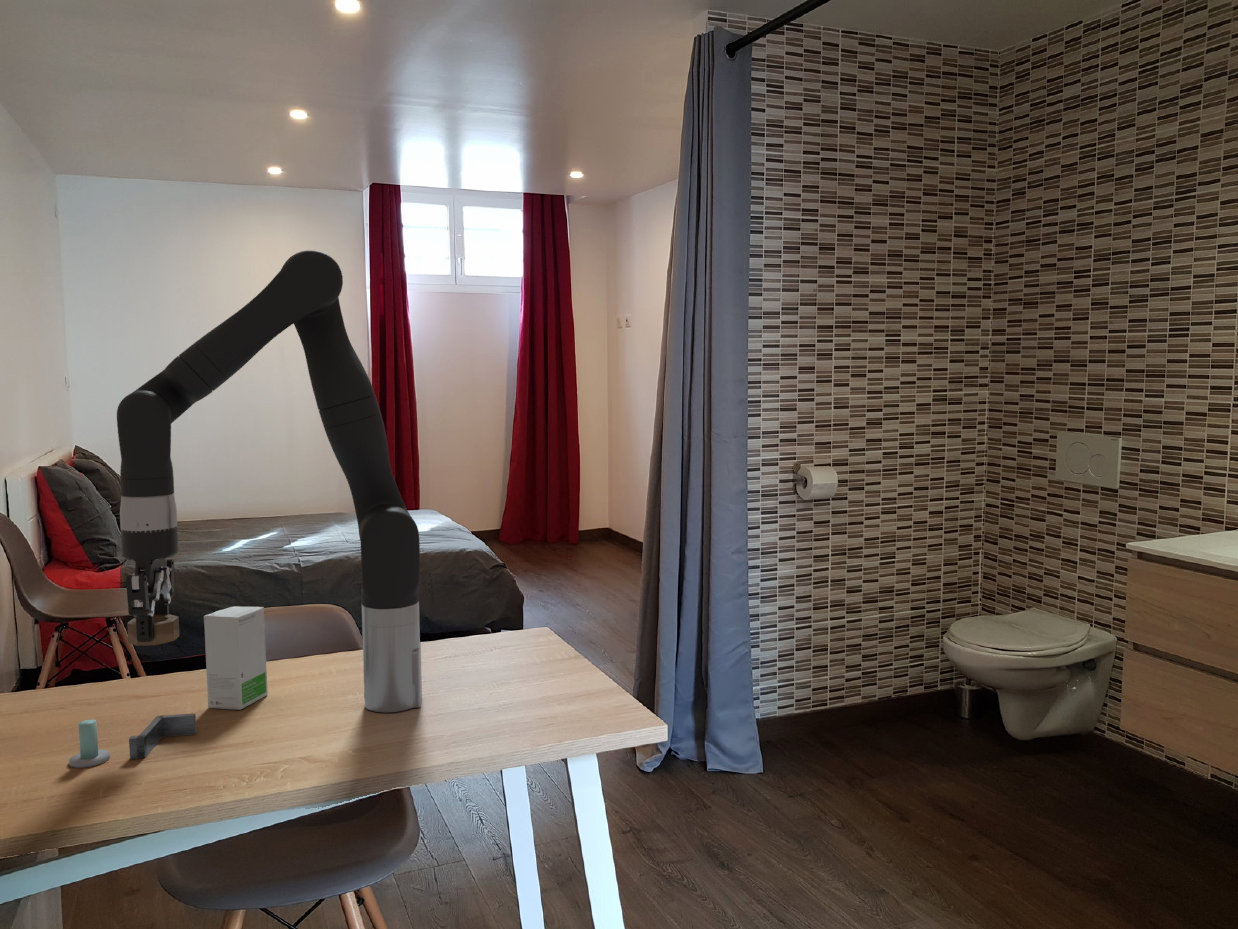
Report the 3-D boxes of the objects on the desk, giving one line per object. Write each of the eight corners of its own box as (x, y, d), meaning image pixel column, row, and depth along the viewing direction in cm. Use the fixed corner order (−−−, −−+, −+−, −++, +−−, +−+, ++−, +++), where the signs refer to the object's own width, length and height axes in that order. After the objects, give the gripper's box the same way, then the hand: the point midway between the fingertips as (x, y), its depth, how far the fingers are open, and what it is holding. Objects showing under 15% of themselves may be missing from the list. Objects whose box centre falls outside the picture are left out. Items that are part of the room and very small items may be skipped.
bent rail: (196, 732, 140) (195, 713, 140) (178, 755, 131) (177, 735, 131) (150, 735, 139) (150, 716, 139) (130, 759, 130) (128, 738, 130)
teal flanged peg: (115, 752, 133) (113, 715, 132) (101, 766, 128) (99, 727, 127) (77, 754, 132) (75, 717, 131) (63, 769, 127) (60, 730, 126)
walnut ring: (183, 632, 141) (182, 613, 141) (170, 644, 135) (169, 624, 134) (138, 634, 140) (137, 615, 139) (123, 646, 133) (122, 626, 133)
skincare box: (240, 711, 149) (236, 618, 148) (204, 708, 151) (200, 616, 149) (269, 694, 157) (266, 605, 156) (235, 691, 159) (231, 604, 157)
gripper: (160, 532, 129) (165, 647, 131) (190, 517, 143) (194, 621, 145) (103, 533, 128) (108, 649, 129) (138, 518, 142) (143, 623, 144)
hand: (153, 634), depth 137 cm, fingers closed on walnut ring, 6 cm apart
